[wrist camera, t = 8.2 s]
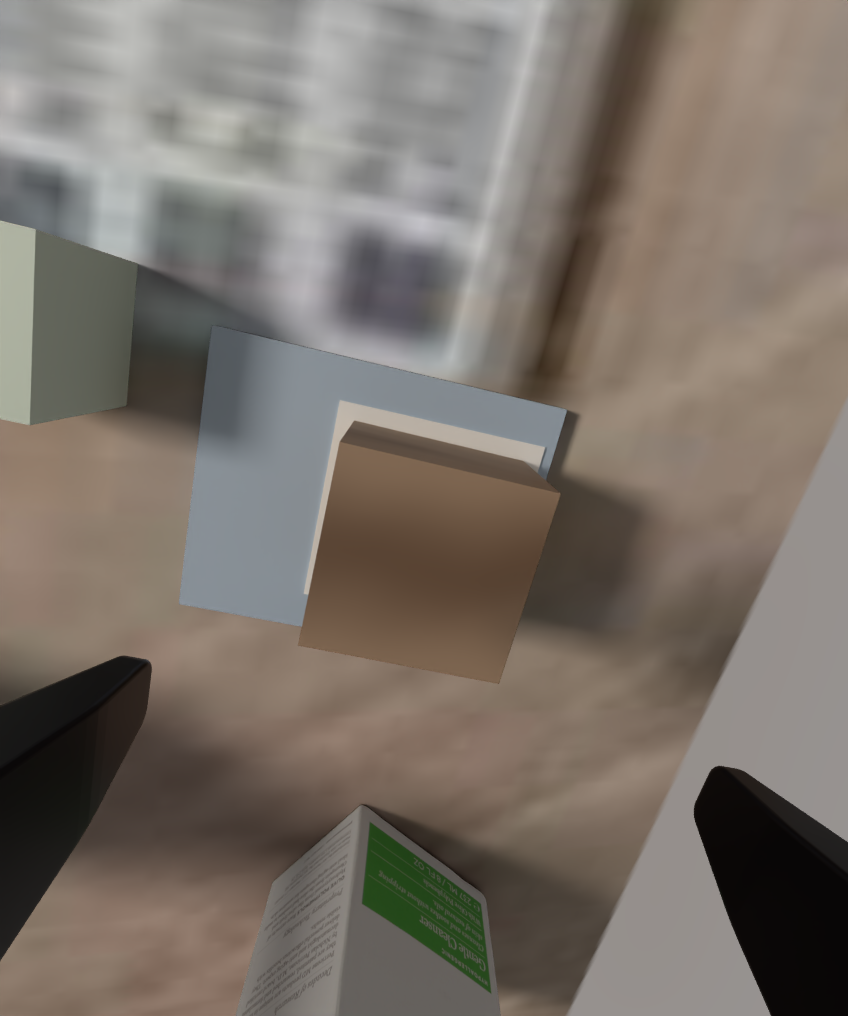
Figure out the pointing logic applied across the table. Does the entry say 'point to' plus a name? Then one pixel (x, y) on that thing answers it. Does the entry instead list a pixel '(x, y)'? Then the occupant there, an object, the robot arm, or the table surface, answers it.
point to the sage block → (62, 327)
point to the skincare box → (371, 933)
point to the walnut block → (426, 553)
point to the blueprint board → (312, 459)
